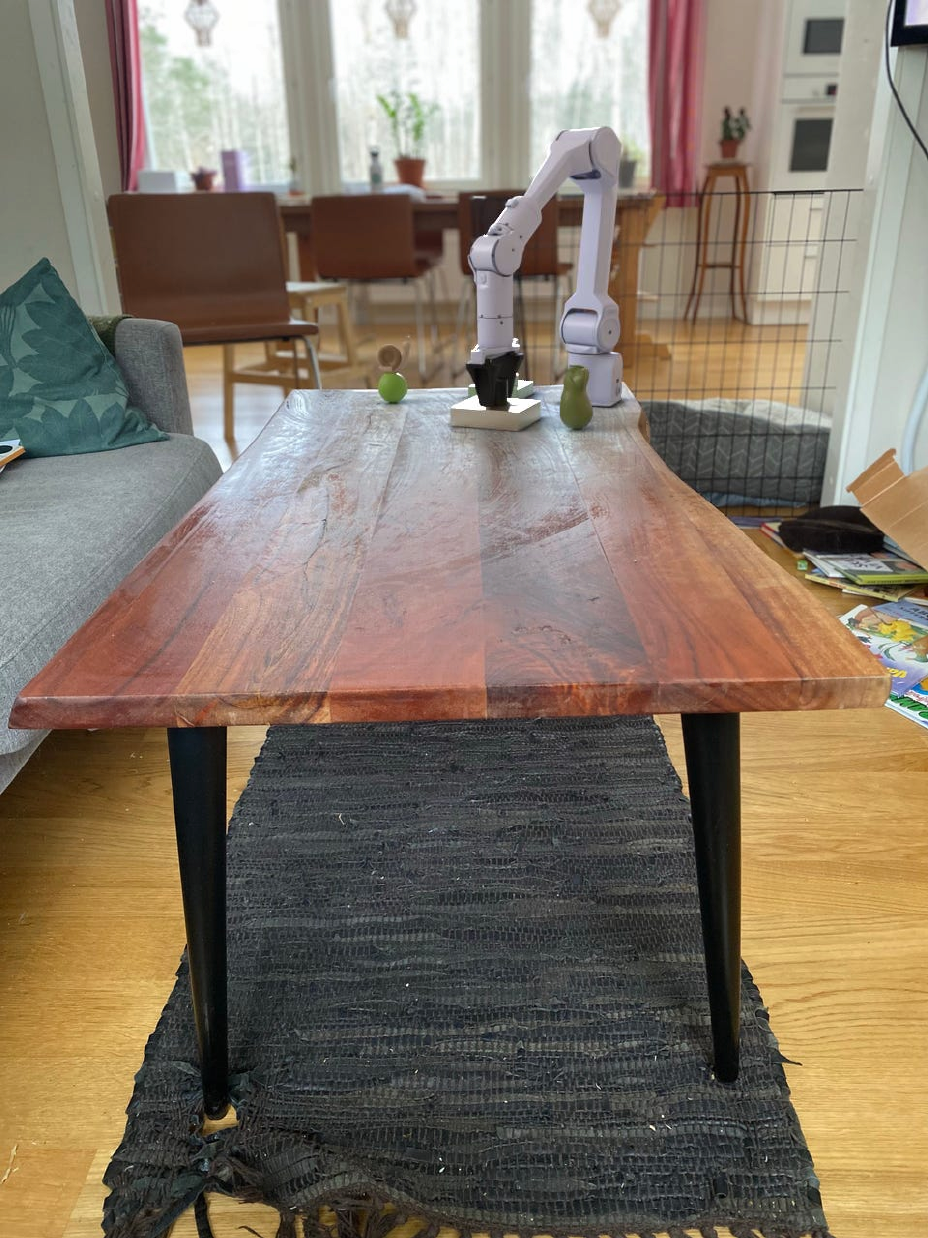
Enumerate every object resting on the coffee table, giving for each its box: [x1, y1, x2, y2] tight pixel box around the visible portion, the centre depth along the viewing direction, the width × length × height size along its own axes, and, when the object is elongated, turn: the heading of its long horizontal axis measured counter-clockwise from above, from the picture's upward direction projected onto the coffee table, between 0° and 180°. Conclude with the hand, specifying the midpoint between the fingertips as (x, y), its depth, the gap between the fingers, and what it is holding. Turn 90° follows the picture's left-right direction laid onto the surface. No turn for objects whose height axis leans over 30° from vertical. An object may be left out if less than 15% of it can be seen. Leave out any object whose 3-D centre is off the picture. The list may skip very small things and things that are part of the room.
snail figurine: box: [377, 334, 411, 404], centre depth 170 cm, size 5×6×12 cm
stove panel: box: [449, 396, 541, 432], centre depth 155 cm, size 12×10×3 cm
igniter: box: [467, 372, 534, 399], centre depth 176 cm, size 10×8×4 cm
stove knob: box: [493, 377, 508, 406], centre depth 154 cm, size 4×4×4 cm
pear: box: [559, 365, 594, 430], centre depth 148 cm, size 6×5×10 cm
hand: (495, 402), depth 155 cm, fingers open, 7 cm apart
